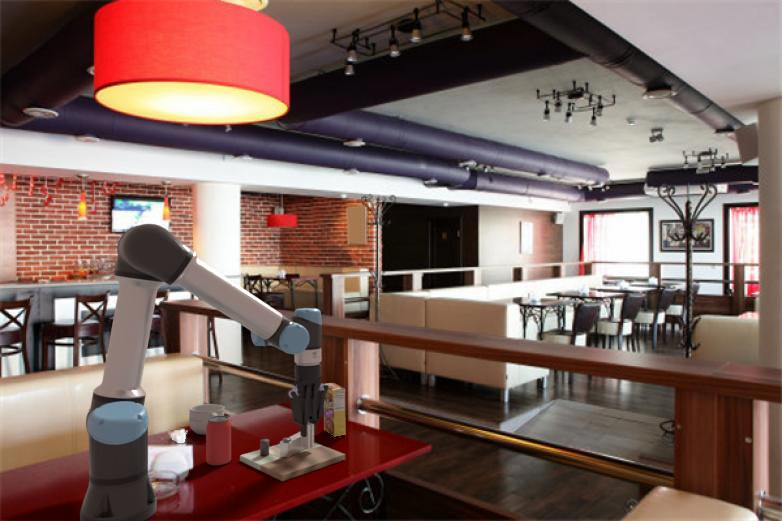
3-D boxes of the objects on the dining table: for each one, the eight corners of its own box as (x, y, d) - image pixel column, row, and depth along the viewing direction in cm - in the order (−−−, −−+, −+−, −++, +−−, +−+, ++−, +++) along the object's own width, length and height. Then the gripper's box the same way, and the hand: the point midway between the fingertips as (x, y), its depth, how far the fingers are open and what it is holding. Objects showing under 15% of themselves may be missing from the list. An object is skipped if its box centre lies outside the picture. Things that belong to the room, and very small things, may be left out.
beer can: (223, 467, 151) (223, 422, 151) (201, 465, 153) (201, 421, 153) (235, 458, 158) (235, 415, 158) (213, 456, 159) (213, 414, 159)
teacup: (187, 429, 184) (187, 404, 184) (222, 424, 189) (222, 401, 188) (192, 442, 171) (191, 416, 171) (228, 437, 176) (228, 411, 176)
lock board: (282, 481, 142) (282, 459, 142) (240, 460, 156) (240, 440, 156) (345, 459, 157) (345, 439, 157) (301, 442, 171) (301, 424, 171)
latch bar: (287, 458, 153) (287, 441, 153) (279, 457, 155) (279, 439, 154) (308, 446, 163) (308, 430, 163) (301, 445, 164) (301, 429, 164)
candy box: (322, 430, 183) (322, 383, 183) (335, 428, 185) (335, 382, 185) (333, 438, 175) (333, 389, 175) (346, 436, 177) (346, 388, 177)
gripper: (296, 368, 152) (296, 456, 152) (335, 361, 162) (335, 444, 162) (280, 364, 157) (280, 449, 157) (318, 358, 167) (318, 438, 167)
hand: (308, 446), depth 159 cm, fingers closed
